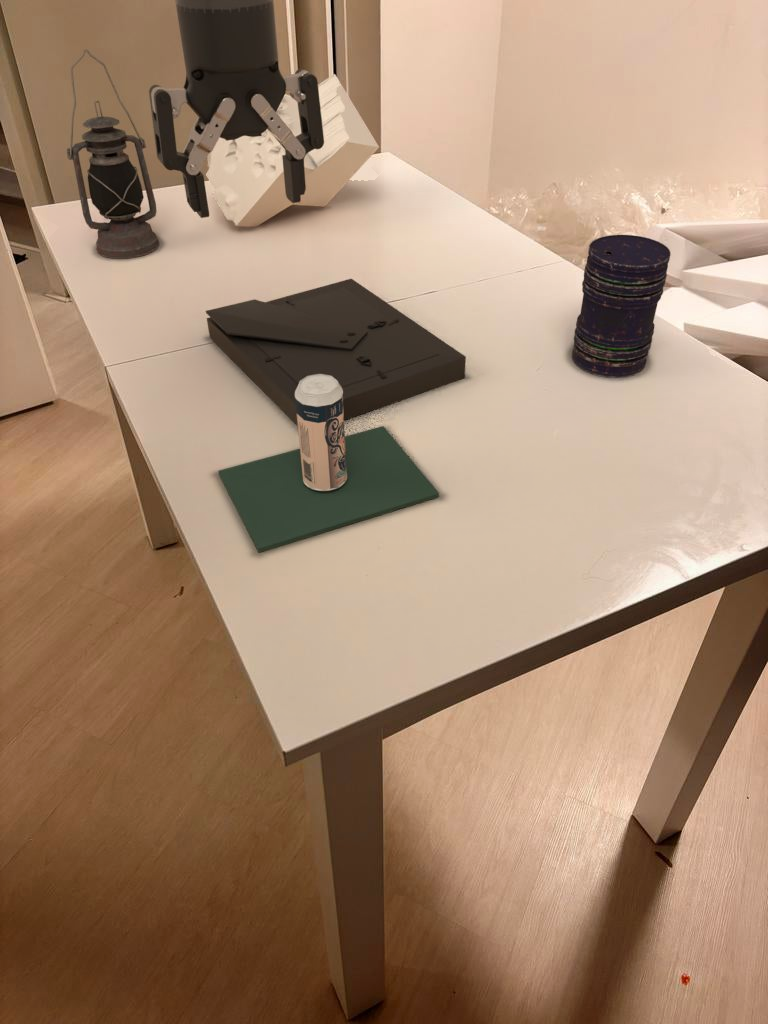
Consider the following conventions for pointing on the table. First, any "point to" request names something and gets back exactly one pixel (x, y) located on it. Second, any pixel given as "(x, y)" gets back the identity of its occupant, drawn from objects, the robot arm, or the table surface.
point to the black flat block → (334, 347)
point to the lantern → (114, 185)
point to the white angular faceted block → (259, 164)
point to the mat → (307, 512)
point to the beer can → (321, 432)
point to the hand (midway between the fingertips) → (249, 207)
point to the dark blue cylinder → (619, 304)
